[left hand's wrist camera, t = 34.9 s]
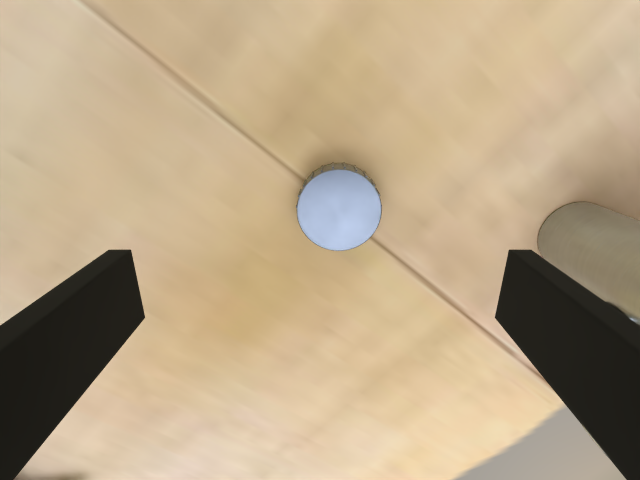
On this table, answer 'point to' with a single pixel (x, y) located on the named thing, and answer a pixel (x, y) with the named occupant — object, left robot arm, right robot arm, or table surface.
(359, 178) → the lid
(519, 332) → the left robot arm
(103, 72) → the table surface
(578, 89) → the table surface
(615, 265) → the metal thermos flask
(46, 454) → the table surface
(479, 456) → the table surface
